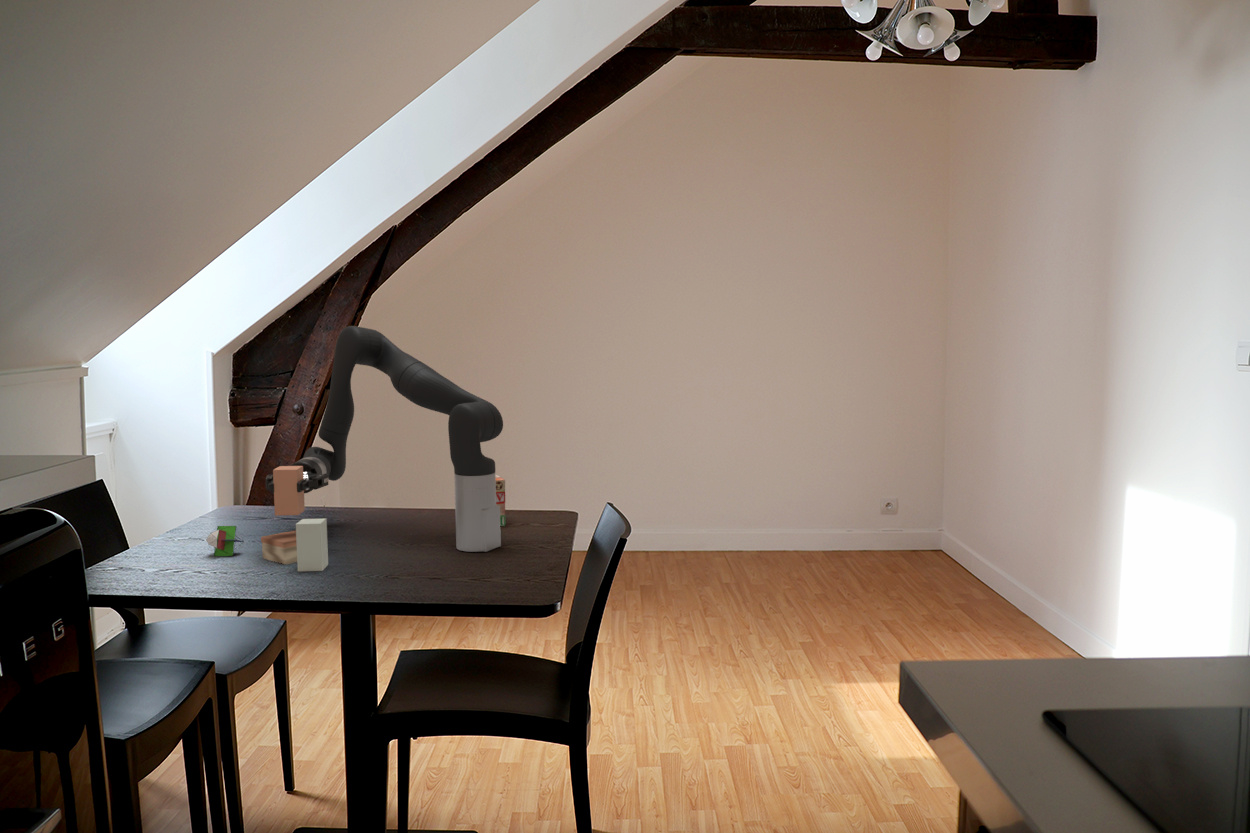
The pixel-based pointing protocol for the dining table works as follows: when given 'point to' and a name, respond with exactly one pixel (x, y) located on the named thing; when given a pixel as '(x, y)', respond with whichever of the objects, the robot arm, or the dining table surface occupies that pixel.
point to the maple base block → (280, 547)
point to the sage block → (312, 544)
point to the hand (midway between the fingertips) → (285, 487)
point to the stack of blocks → (501, 498)
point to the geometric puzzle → (223, 540)
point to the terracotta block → (288, 490)
